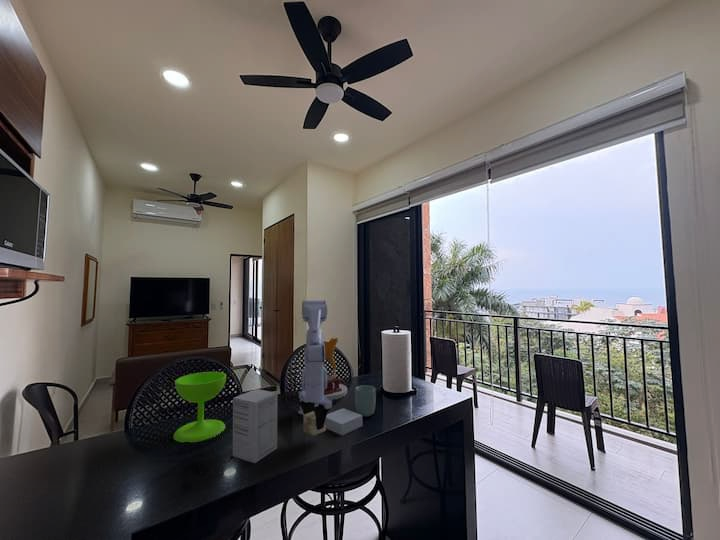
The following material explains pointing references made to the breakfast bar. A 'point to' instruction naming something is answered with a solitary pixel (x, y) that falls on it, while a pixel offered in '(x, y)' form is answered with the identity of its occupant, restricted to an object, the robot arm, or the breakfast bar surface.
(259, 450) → the supplement box
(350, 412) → the grey base block
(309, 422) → the maple cube
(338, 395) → the gramophone
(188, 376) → the wineglass
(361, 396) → the cup
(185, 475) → the breakfast bar surface
